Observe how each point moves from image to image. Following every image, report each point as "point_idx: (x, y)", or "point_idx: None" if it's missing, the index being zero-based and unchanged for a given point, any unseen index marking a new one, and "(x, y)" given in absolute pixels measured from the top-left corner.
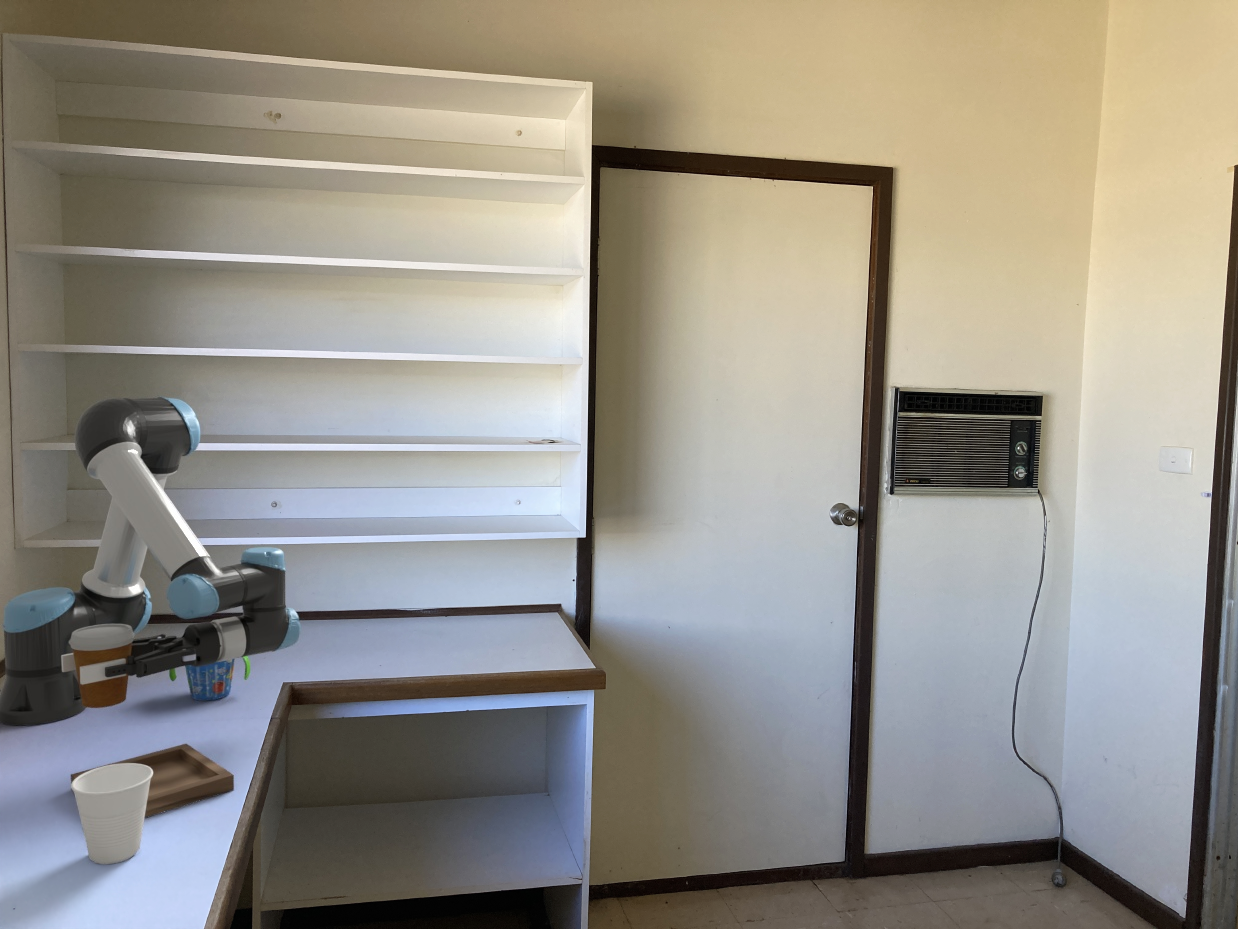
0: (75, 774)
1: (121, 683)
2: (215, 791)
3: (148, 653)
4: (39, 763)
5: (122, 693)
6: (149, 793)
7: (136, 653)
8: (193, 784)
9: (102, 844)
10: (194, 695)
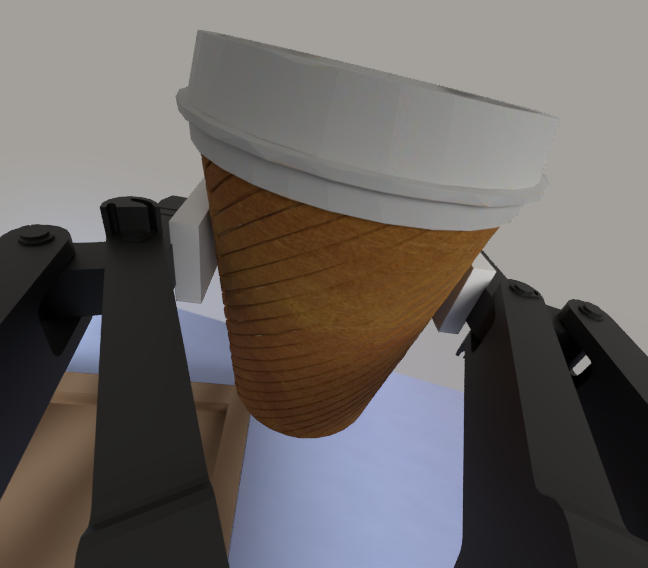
0: None
1: (230, 339)
2: None
3: (168, 345)
4: (417, 413)
5: (238, 379)
6: (17, 492)
7: (481, 437)
8: None
9: None
10: None
